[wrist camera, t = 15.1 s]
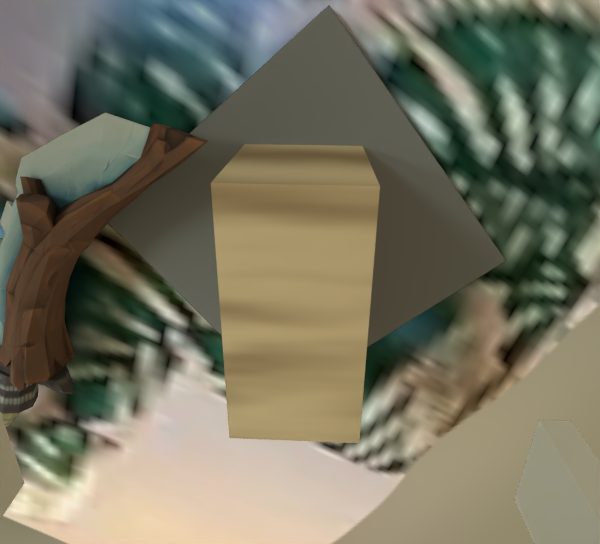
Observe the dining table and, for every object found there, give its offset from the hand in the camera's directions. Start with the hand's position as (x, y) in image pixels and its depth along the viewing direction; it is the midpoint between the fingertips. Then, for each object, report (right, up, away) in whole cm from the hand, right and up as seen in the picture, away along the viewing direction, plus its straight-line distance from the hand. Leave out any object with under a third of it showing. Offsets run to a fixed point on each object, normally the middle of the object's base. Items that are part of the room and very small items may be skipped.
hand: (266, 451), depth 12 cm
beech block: (+1, -2, +14) cm, 14 cm away
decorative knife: (-15, +3, +17) cm, 23 cm away
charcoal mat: (+1, +7, +15) cm, 16 cm away
